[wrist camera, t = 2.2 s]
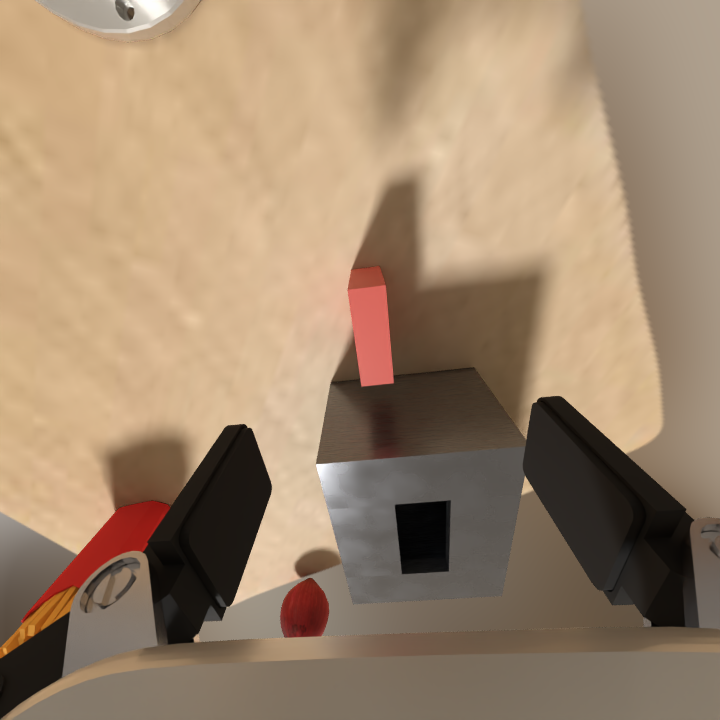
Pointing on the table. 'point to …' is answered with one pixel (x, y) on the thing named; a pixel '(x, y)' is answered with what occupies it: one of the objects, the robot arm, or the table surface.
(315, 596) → the onion
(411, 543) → the grey slotted box
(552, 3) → the table surface
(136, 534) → the french fries
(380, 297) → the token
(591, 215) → the table surface
